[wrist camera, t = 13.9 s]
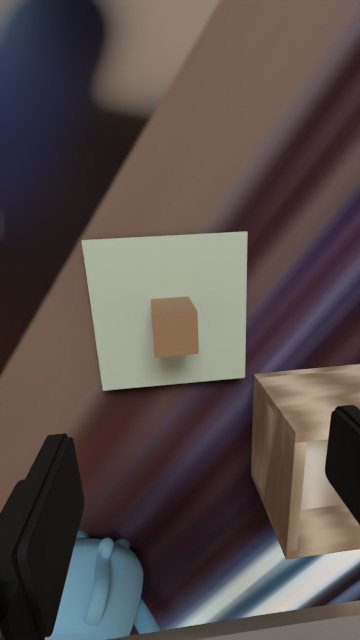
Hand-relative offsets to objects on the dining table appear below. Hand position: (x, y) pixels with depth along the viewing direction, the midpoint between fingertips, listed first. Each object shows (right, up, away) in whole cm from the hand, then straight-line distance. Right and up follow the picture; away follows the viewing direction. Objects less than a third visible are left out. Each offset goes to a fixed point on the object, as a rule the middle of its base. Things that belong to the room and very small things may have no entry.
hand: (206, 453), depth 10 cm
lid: (-2, +6, +20) cm, 21 cm away
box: (+15, -7, +25) cm, 30 cm away
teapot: (-12, -27, +28) cm, 41 cm away
